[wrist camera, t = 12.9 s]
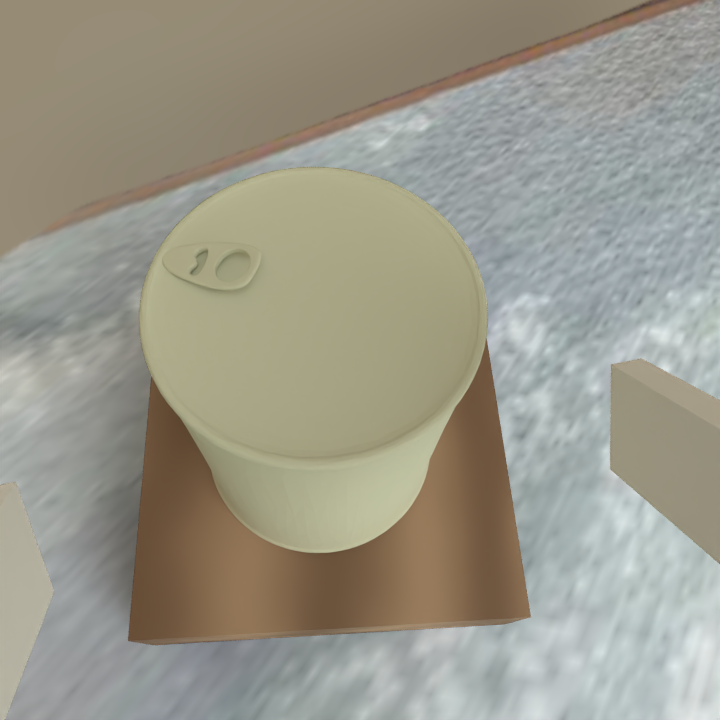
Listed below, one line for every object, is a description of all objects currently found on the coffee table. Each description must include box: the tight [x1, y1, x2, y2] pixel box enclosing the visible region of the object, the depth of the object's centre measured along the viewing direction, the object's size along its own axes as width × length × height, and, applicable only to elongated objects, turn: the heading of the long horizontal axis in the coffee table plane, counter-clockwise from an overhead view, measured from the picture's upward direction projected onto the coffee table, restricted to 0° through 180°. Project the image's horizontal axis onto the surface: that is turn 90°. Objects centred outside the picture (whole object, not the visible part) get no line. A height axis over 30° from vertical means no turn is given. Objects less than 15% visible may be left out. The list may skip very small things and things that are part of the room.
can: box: [139, 167, 488, 553], centre depth 22 cm, size 9×9×12 cm
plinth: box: [128, 338, 531, 645], centre depth 29 cm, size 15×15×4 cm
